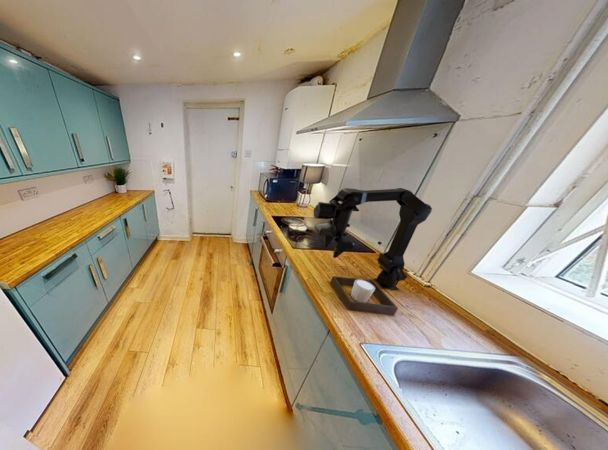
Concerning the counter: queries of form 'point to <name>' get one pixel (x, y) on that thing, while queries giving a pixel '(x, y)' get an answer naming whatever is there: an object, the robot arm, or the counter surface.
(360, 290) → the shot glass
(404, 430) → the counter surface
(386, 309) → the brown square frame
